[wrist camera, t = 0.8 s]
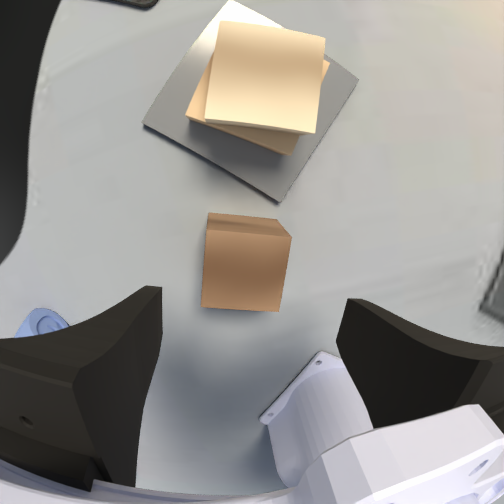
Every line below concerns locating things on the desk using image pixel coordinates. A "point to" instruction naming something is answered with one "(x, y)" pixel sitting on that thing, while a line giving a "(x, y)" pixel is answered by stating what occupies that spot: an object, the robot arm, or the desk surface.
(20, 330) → the decorative dice
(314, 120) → the beech block
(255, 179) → the slate coaster
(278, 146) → the oak slab
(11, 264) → the desk surface
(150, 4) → the smartphone
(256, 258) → the walnut cube
